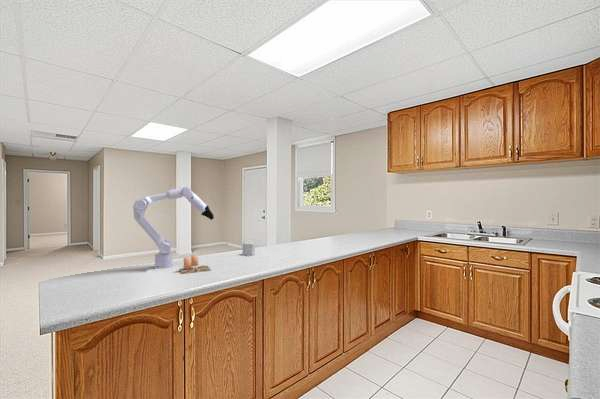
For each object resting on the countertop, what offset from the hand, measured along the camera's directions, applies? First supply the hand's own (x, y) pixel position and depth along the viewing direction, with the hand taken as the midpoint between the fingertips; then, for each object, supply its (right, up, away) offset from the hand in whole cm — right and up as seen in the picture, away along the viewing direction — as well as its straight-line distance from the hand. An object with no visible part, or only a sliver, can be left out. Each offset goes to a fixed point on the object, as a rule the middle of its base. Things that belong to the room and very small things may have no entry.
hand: (212, 217), depth 180 cm
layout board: (-4, -29, -19) cm, 35 cm away
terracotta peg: (-8, -29, -8) cm, 32 cm away
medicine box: (+18, -29, +26) cm, 43 cm away
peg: (-8, -29, -20) cm, 36 cm away
